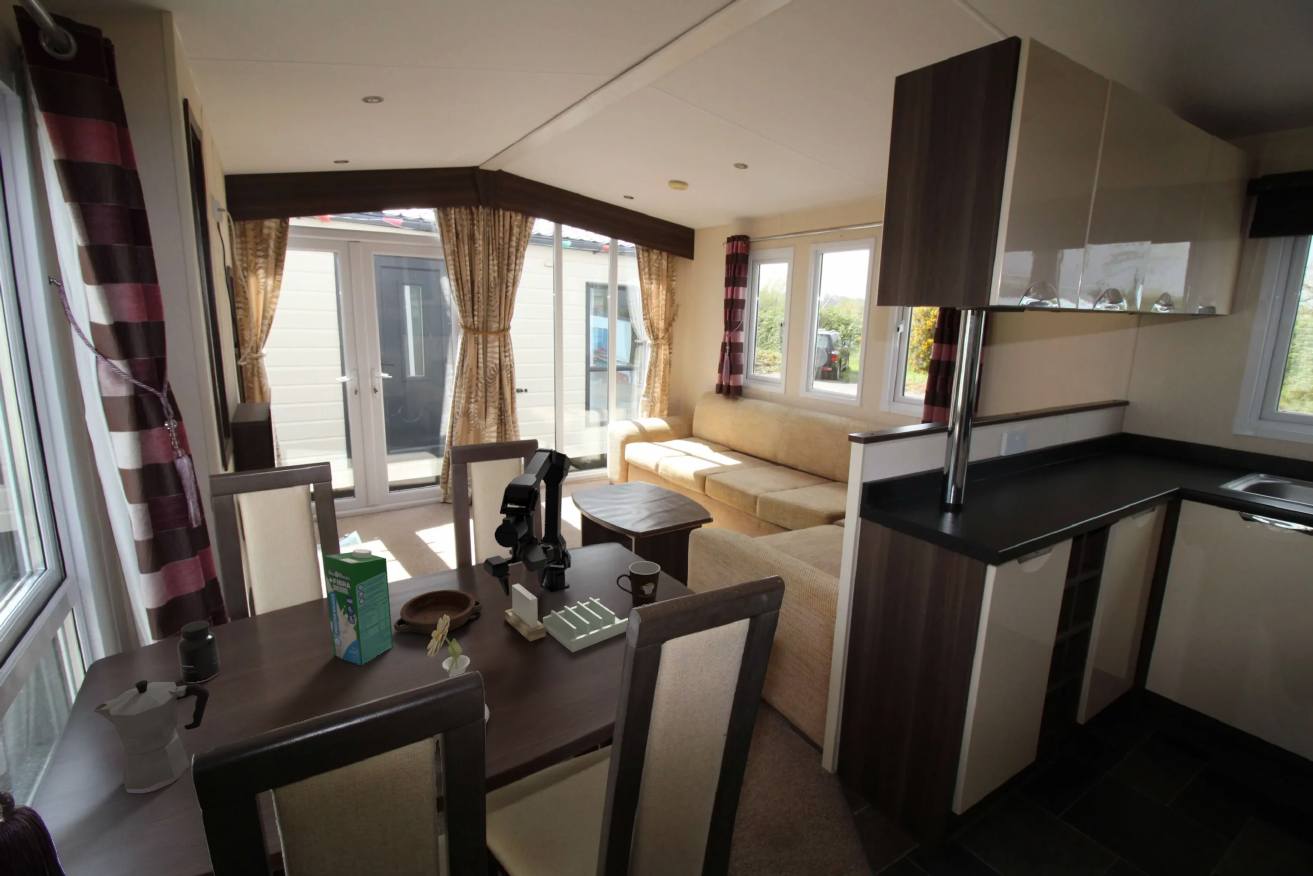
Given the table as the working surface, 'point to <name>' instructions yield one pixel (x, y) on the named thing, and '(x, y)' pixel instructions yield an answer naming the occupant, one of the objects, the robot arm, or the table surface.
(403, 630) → the dish
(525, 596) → the white slab
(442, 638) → the flower in vase
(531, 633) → the stand
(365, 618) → the milk carton
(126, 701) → the coffeepot
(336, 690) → the table surface
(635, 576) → the coffee mug
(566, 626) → the rack
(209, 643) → the supplement bottle
